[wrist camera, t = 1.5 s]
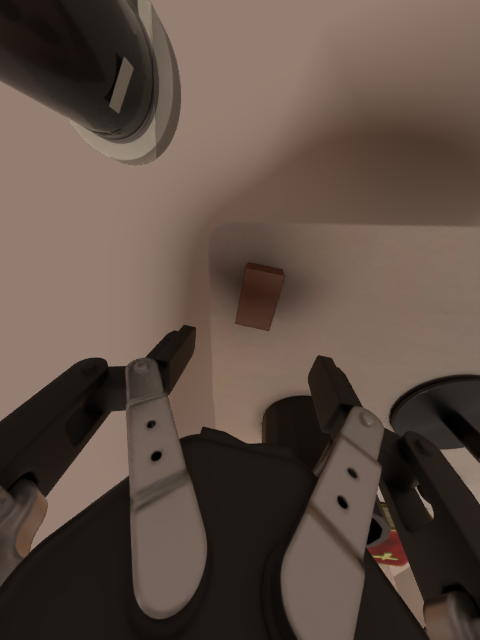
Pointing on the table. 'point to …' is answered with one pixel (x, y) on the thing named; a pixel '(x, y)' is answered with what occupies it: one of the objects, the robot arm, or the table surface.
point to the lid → (443, 414)
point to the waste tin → (311, 447)
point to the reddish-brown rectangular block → (259, 296)
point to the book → (390, 547)
